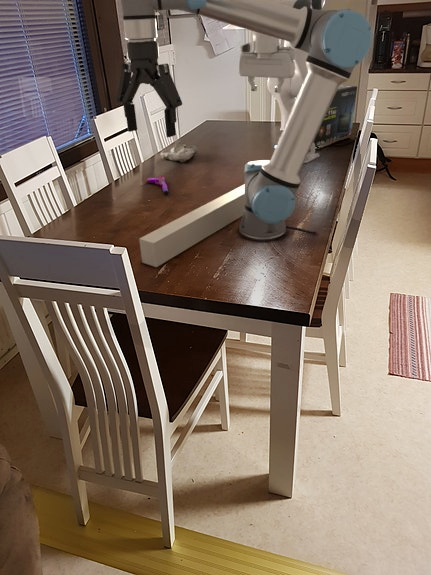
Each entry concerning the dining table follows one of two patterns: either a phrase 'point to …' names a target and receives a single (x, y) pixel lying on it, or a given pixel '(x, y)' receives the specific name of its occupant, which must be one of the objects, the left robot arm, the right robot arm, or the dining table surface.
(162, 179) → the handgun
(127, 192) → the dining table surface
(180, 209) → the dining table surface
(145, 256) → the beam
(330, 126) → the router box
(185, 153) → the fossil
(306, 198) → the dining table surface
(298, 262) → the dining table surface
